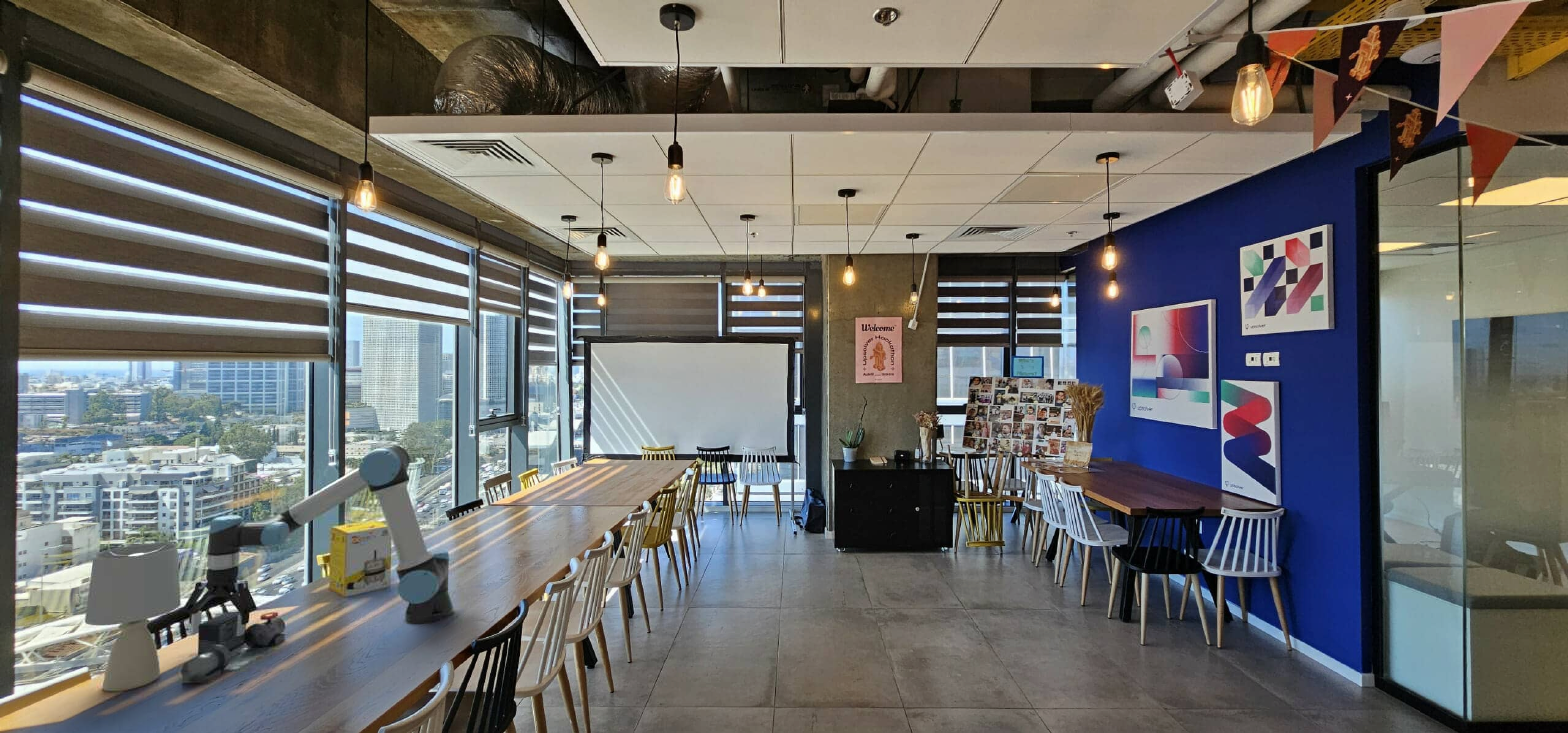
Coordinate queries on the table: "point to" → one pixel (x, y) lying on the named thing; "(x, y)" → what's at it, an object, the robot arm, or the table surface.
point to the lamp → (133, 607)
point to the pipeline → (235, 651)
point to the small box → (220, 632)
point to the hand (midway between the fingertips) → (218, 634)
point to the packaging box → (359, 558)
